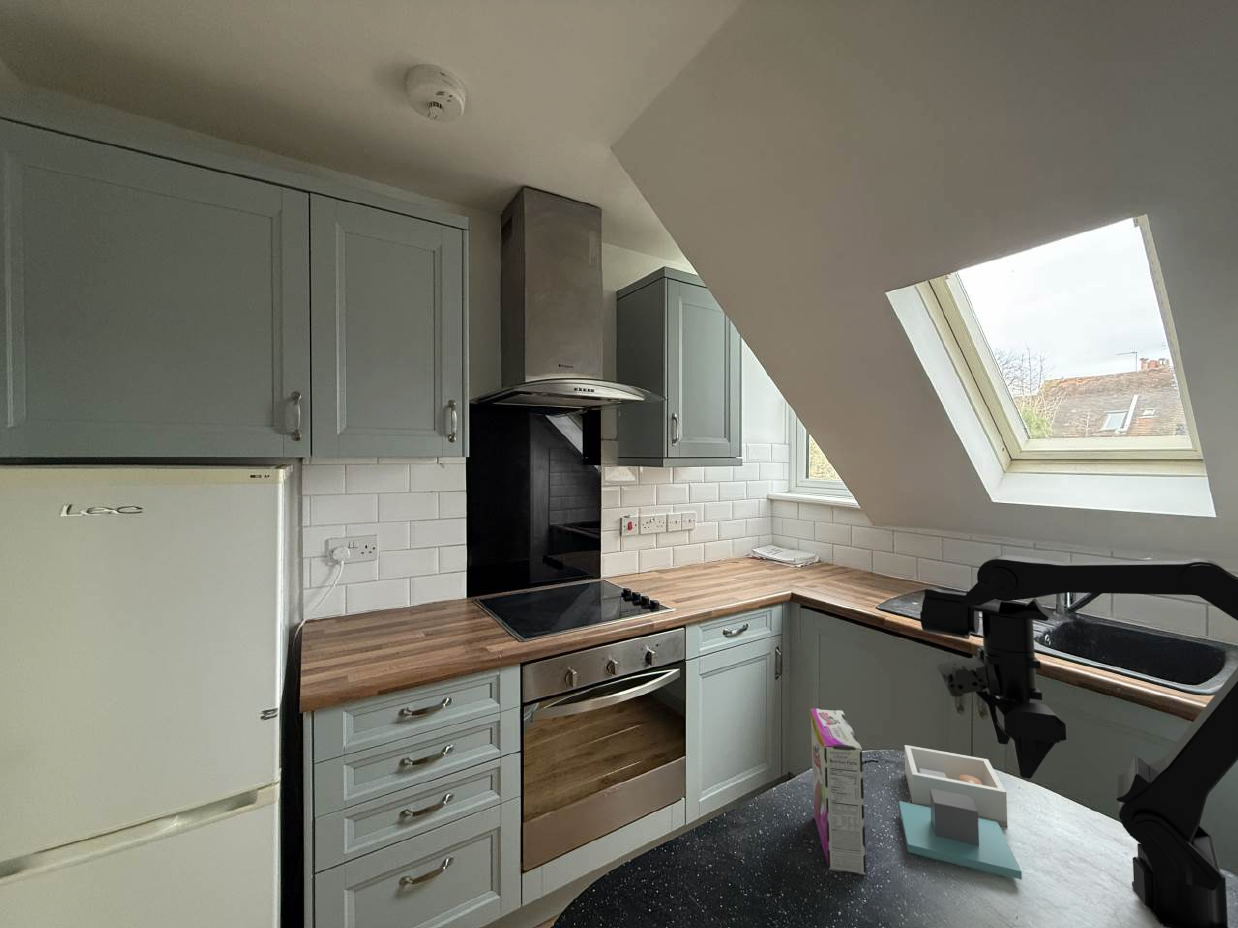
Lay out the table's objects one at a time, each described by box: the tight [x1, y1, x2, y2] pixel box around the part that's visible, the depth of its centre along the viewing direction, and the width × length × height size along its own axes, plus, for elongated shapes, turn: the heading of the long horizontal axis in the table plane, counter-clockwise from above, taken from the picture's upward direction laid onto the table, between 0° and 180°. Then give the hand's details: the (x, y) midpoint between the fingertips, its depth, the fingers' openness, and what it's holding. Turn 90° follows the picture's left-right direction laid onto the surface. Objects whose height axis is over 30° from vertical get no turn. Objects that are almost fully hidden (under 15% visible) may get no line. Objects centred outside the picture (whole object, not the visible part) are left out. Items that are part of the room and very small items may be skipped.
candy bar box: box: [810, 707, 867, 876], centre depth 71 cm, size 11×5×16 cm, turn 168°
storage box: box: [904, 744, 1008, 828], centre depth 80 cm, size 12×10×5 cm
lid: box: [898, 788, 1023, 880], centre depth 70 cm, size 12×10×6 cm
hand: (1013, 759), depth 70 cm, fingers open, 9 cm apart
